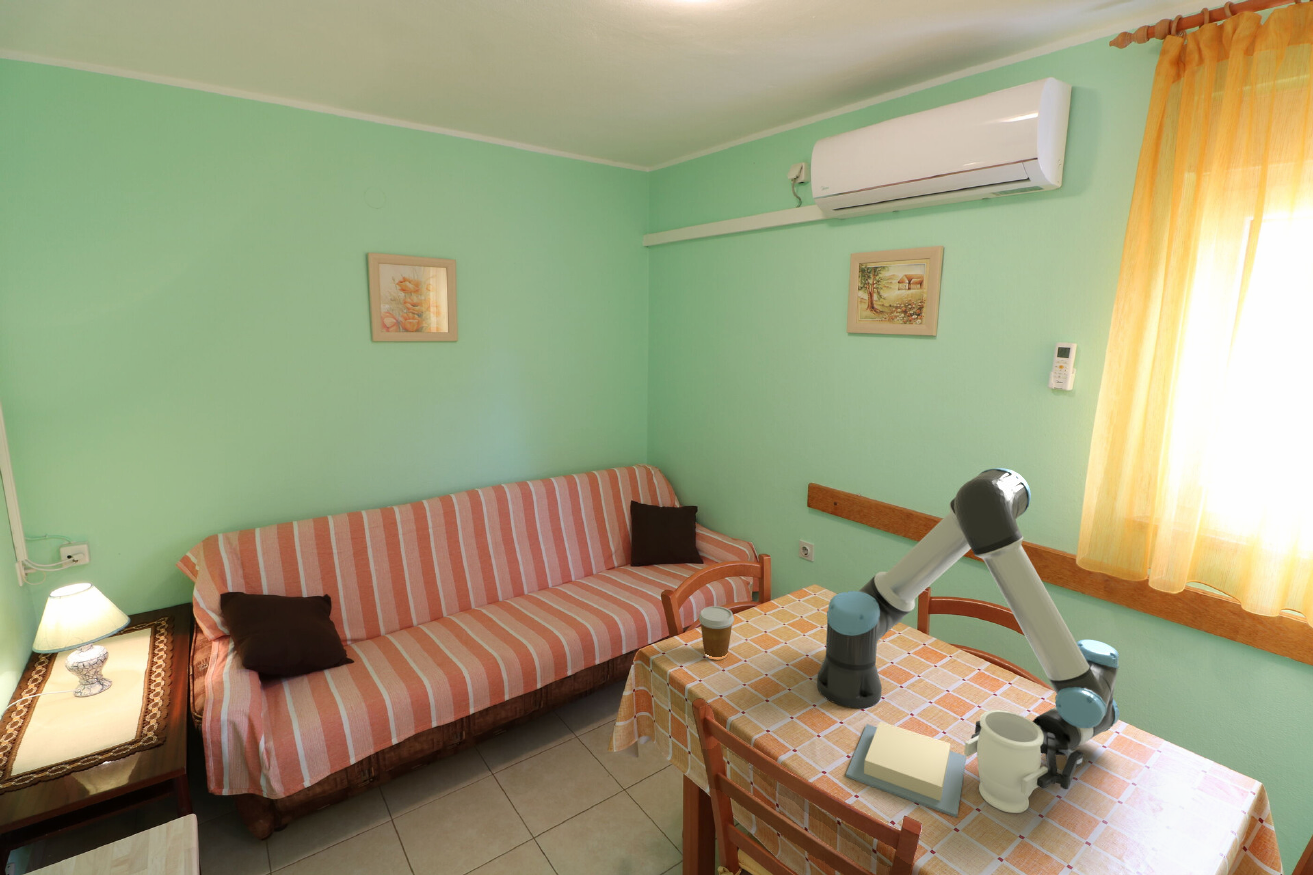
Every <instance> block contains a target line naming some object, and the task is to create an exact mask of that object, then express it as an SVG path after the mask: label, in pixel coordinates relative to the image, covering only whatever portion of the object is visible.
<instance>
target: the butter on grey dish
mask: <svg viewBox="0 0 1313 875" xmlns="http://www.w3.org/2000/svg"><path fill="white" fill-rule="evenodd" d="M864 727H865V728H864V730H863V732H862V735H861V737H860V740H859V742H858V745H857V747H856V748H855V751H854V754H853V756H852V758H851V761H850V763H849V766H848V768H847V771H846V774H845V778H848V779H852V780H854V781H857V782H859V783H861V784H865V785H867V786H870V787H872V788H875V789H879V790H881V791H883V792H886V793H889V794H892V795H895V796H896V797H900V798H902V799H906V800H908V801H910V802H913V803H916V804H919V805H921V806H924V807H927V808H930V809H931V810H932V809H933V810H934V811H937V812H941V813H943V814H946V815H949V816H951V817H954V818H958V813H959V806H960V801H961V800H960V799H961V794H962V787H963V783H964V782H963V780H964V776H965V775H964V774H965V769H966V768H965V767H966V761H967V756H966V755H964V754H961V753H959V752H956V751H952V750H951V743H950V742H946V741H944V740H940V739H937V738H935V737H931V736H928V735H924V734H921V733H918V732H915V731H912V730H909V729H906V728H903V727H899V726H896V725H893V724H890V723H887V722H884V721H881V720H880V721H879V723H878V725H877V726H876V725H875V726H874V725H871V724H869V723H866V725H865V726H864Z"/></svg>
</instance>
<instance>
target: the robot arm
mask: <svg viewBox="0 0 1313 875" xmlns="http://www.w3.org/2000/svg"><path fill="white" fill-rule="evenodd" d="M1031 500H1032V492H1031V489H1030V486H1029V484H1028V482H1027V480H1025V478H1024V477H1022V475H1021V474H1019V473H1018V472H1015V471H1014V470H1012V469H1008V468H1004V467H994V468H989V469H985V470H983V471H981V472H980V473H979V474H978V475H976V476H974V477H973V478H972V479H970V480H968V481H967V482H965V483H963V485H962V486H960V488H958V491H957V493H956V494H955V497H954V498H953V499H952V500H950V501H949V513H948V514H946V516H945V517H943V518H942V520H940V521H939V522H938V523H937V524H936V525H935V526H934V527H933V528H932V529H931V530H930V531H929V532H928V533H927V534H926V535H925V536H924V537H923V538H922V539H921V540H919V541H918V542H917V543H916V544H915V545H914V546H913V547H912V548H911V549H910V550H909V551H908V552H907V553H906V554H905V555H904V556H903V557H902V558H901V559H900V560H899V561H898V562H896V564H894V565H893V566H892V567H891V568H890V569H889V570H888V571H878V572H877V573H876V574H875V575H874V576H873V577H872V578H870V579H869V581H868V582H866V584H864V586H862V587H861V588H860V589H859V590H857V591H855V590H848V591H847V592H845V591H842V592H839V593H837V594H835V595H834V596H833V597H831V599H830V601H829V603H828V608H827V611H826V619H827V623H826V641H825V657H824V659H823V662H822V664H821V666H820V668H819V670H818V672H817V676H816V689H817V691H818V692H819V691H820V692H819V693H820V695H821V696H822V697H824V698H825V697H826V698H827V699H826V698H825V699H826V700H828V699H829V700H828V701H830V702H831V701H833V702H834V704H836V705H838V706H842V707H845V708H846V707H847V708H853V709H864V708H869V707H872V706H874V705H876V704H878V703H879V701H880V700H881V699H882V690H883V689H882V683H881V678H880V675H879V672H878V668H877V665H876V662H877V660H876V659H877V650H878V649H877V647H878V642H879V640H881V638H883V637H884V636H885V635H886V634H887V633H888V632H889V631H890V630H891V629H892V628H894V627H895V626H897V625H898V624H899V623H900V622H901V621H902V620H903V619H904V618H905V617H906V616H907V615H908V614H909V613H910V612H911V611H913V610H914V608H915V607H916V600H915V599H916V598H917V597H919V595H921V594H922V593H923V592H924V591H925V590H926V589H928V587H929V586H931V585H932V584H933V583H934V582H935V581H936V580H938V579H939V578H940V577H941V576H942V575H943V574H944V573H945V572H946V571H948V570H949V569H950V568H951V567H952V566H953V565H954V564H956V562H958V561H959V560H960V559H961V558H963V556H964V555H966V554H967V553H968V552H969V551H970V550H971V551H972V553H973V554H974V556H975V557H977V558H980V559H982V560H983V562H984V563H985V565H986V567H987V570H989V573H990V574H991V577H992V578H993V580H994V582H995V583H996V585H997V588H998V589H999V591H1000V593H1001V594H1002V596H1003V598H1004V600H1005V602H1006V603H1007V605H1008V607H1009V609H1010V611H1011V613H1012V614H1013V616H1014V619H1015V620H1016V622H1017V623H1018V625H1019V627H1020V629H1021V631H1022V633H1023V635H1024V637H1025V638H1026V640H1027V642H1028V644H1029V645H1030V647H1031V649H1032V650H1033V653H1034V655H1035V656H1036V658H1037V660H1038V662H1039V664H1040V666H1041V667H1042V669H1043V671H1044V673H1045V675H1046V677H1047V679H1048V681H1049V682H1050V684H1051V685H1052V687H1053V689H1054V691H1055V694H1056V695H1055V699H1054V700H1055V706H1054V707H1052V708H1050V709H1049V710H1047V711H1045V712H1043V713H1041V714H1039V715H1038V716H1036V717H1035V718H1034V719H1033V720H1031V721H1032V722H1034V723H1035V724H1036V725H1037V726H1038V727H1039V728H1040V729H1041V730H1042V732H1043V735H1044V740H1043V743H1042V745H1041V746H1040V749H1041V755H1042V754H1045V761H1046V766H1045V765H1043V766H1041V767H1040V769H1038V770H1037V771H1035V772H1033V773H1032V774H1030V775H1028V776H1027V777H1025V778H1023V780H1022V788H1021V793H1023V794H1024V795H1026V794H1028V793H1029V792H1031V791H1032V790H1033V791H1034V790H1036V789H1037V788H1039V787H1040V788H1041V789H1046V788H1048V787H1049V786H1051V785H1059V786H1060V788H1061V789H1063V790H1068V789H1069V787H1070V785H1071V782H1072V780H1073V777H1074V775H1075V773H1076V769H1078V768H1080V767H1082V764H1083V758H1084V752H1083V751H1081V750H1078V749H1077V748H1078V747H1080V746H1082V745H1083V744H1085V743H1086V742H1088V741H1090V740H1091V739H1092V738H1095V737H1096V736H1098V735H1100V734H1101V733H1103V732H1106V731H1108V730H1110V729H1111V727H1114V725H1115V724H1117V723H1118V721H1119V720H1120V709H1119V707H1118V704H1117V702H1116V701H1115V699H1114V694H1115V693H1114V692H1115V687H1116V683H1117V682H1116V681H1117V675H1118V670H1119V668H1120V665H1119V659H1120V654H1119V652H1118V651H1117V650H1116V649H1115V647H1112V646H1111V645H1109V644H1107V643H1105V642H1102V641H1099V640H1095V639H1080V640H1078V641H1076V639H1075V637H1074V635H1073V634H1072V633H1071V631H1070V630H1069V627H1068V625H1067V624H1066V621H1065V620H1064V619H1063V616H1062V615H1061V612H1060V611H1059V610H1058V608H1057V606H1056V604H1055V602H1054V600H1053V599H1052V597H1051V596H1050V594H1049V592H1048V589H1047V588H1046V587H1045V584H1044V583H1043V581H1042V579H1041V577H1040V576H1039V574H1038V573H1037V570H1036V568H1035V566H1034V565H1033V563H1032V561H1031V560H1030V557H1029V556H1028V554H1027V552H1026V551H1025V549H1024V547H1023V546H1022V543H1023V541H1024V540H1023V539H1024V536H1023V534H1022V532H1021V531H1020V529H1019V527H1018V523H1017V519H1018V518H1019V517H1020V516H1022V515H1024V513H1026V512H1027V510H1028V508H1029V505H1030V504H1031ZM833 702H832V703H833ZM981 729H982V728H981V726H980V720H976V722H975V729H974V733H973V734H972V735H971V737H970V739H969V740H966V741H965V742H964V753H963V755H965V756H966V758H967V757H970V756H972V755H974V754H977V743H978V738H979V734H980V731H981ZM1075 749H1077V750H1075ZM1057 756H1063V757H1064V756H1066V760H1067V761H1066V763H1065V765H1064V768H1063V770H1062V773H1061V772H1058V765H1057ZM1033 791H1032V792H1033Z"/></svg>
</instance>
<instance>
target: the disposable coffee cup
mask: <svg viewBox="0 0 1313 875" xmlns="http://www.w3.org/2000/svg"><path fill="white" fill-rule="evenodd" d="M698 620H699V622H700V629H701V637H702V646H703V647H702V648H703V653H704V652H705V654H707V655H709V656H712V657H722V656H725V655H726V654H727V653H728V654H729V649H730V641H731V634H732V628H733V623H734V622H735V617H734V614H733V612H732V610H731V609H730V608H729V609H728V608H727V607H724V606H718V605H717V606H707V607H705V608H703V609H701V611H700V613H699V615H698Z"/></svg>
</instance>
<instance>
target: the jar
mask: <svg viewBox="0 0 1313 875" xmlns="http://www.w3.org/2000/svg"><path fill="white" fill-rule="evenodd" d="M979 721H980V726H981V728H982V729H981V731H980V734H979V738H978V743H977V752H976V759H977V770H978V772H977V773H978V776H979V779H980V783H979V785H978V790H979V794H980V796H981V798H983V799H984V801H985V802H987V803H988V804H989V805H990V806H991V807H993V808H996V809H997V810H999V811H1002V812H1005V813H1010V814H1019V813H1020V814H1021V813H1023V812H1025V811H1026V810H1027V809H1028V808H1029V806H1030V805H1029V804H1030V801H1029V798H1030V796H1031V795H1032V793H1033V791H1034V790H1032V791H1031V792H1029V793H1028V794H1026V795H1024V794H1023V793H1021V788H1022V780H1023V778H1025V777H1027V776H1028V775H1030V774H1032V773H1033V772H1035V771H1037V770H1038V769H1040V768H1041V766H1042V765H1041V763H1042V757H1041V756H1042V753H1041V749H1040V746H1041V745H1042V743H1043V740H1044V735H1043V732H1042V730H1041V729H1040V728H1039V727H1038V726H1037V725H1036V724H1035V723H1034V722H1032V721H1033V720H1031V719H1029V718H1027V717H1026V716H1024V715H1021V714H1019V713H1016V712H1014V711H1009V710H1004V709H991V710H986V711H985V712H983V713H982V714H981V715H980V717H979Z"/></svg>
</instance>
